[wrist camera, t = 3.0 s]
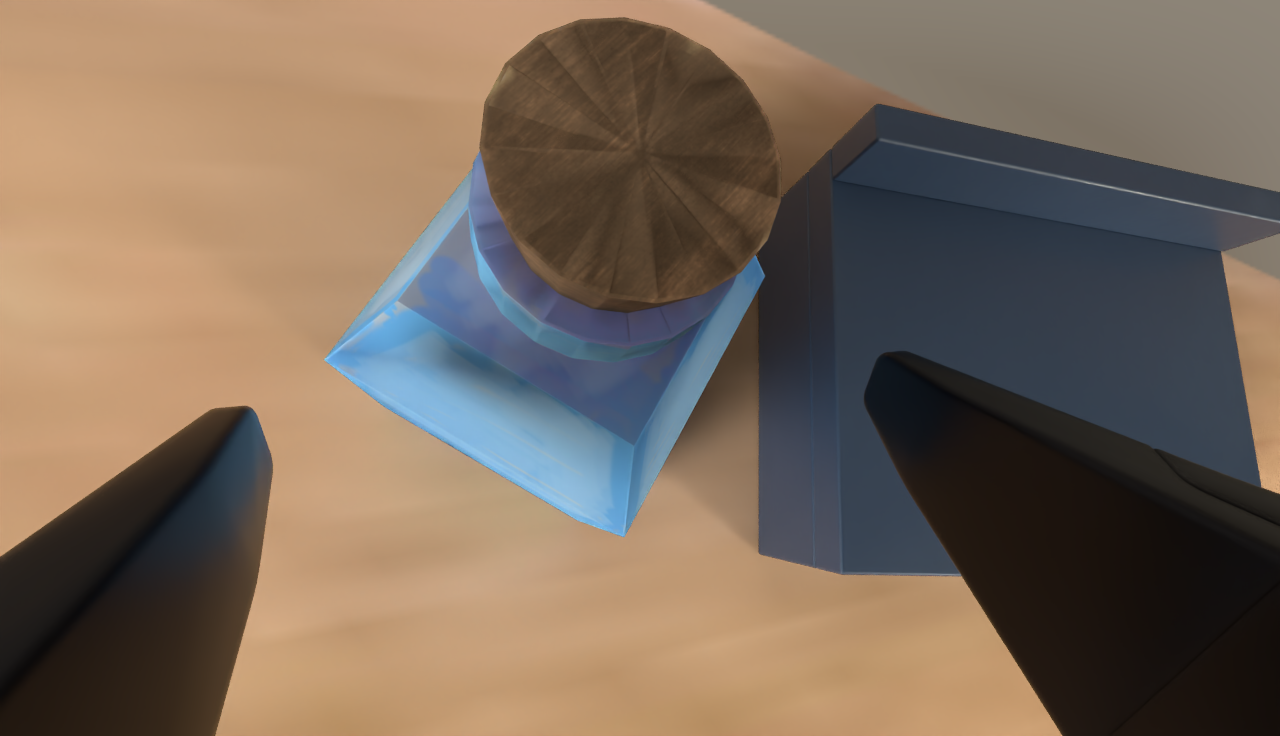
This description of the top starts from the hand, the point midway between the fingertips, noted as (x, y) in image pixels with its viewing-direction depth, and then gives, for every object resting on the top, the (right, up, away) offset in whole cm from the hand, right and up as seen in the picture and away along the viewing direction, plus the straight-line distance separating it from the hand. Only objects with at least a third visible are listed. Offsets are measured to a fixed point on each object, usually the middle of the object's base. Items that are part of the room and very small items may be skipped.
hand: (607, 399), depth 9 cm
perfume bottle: (-2, 0, +9) cm, 9 cm away
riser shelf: (+11, 0, +12) cm, 16 cm away
